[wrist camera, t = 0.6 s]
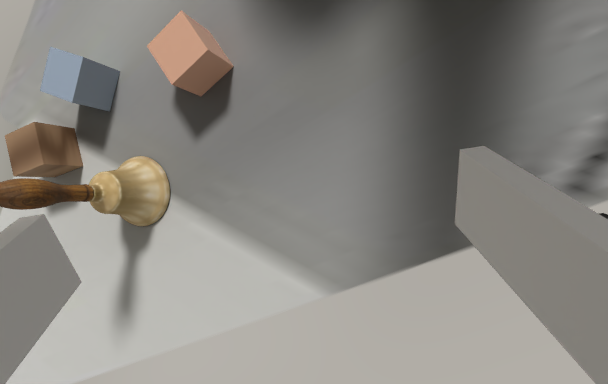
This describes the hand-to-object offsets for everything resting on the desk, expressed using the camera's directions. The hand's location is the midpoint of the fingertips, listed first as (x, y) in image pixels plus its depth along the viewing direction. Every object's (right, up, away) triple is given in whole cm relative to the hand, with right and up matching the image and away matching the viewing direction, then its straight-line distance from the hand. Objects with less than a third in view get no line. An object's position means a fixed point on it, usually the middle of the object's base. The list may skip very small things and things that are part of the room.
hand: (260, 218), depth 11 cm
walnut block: (-29, +6, +33) cm, 45 cm away
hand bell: (-18, +1, +30) cm, 35 cm away
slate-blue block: (-24, +14, +31) cm, 42 cm away
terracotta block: (-9, +15, +27) cm, 32 cm away
